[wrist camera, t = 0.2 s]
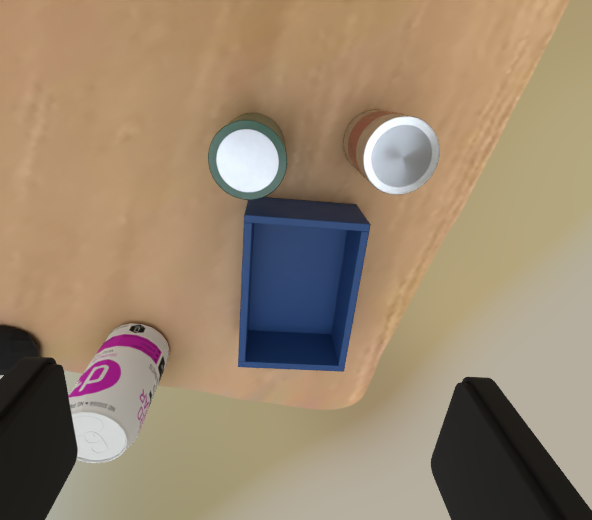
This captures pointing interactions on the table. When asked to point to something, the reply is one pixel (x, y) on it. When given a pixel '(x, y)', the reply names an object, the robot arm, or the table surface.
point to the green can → (248, 157)
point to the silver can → (392, 150)
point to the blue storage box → (299, 283)
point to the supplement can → (117, 391)
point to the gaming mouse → (15, 347)
